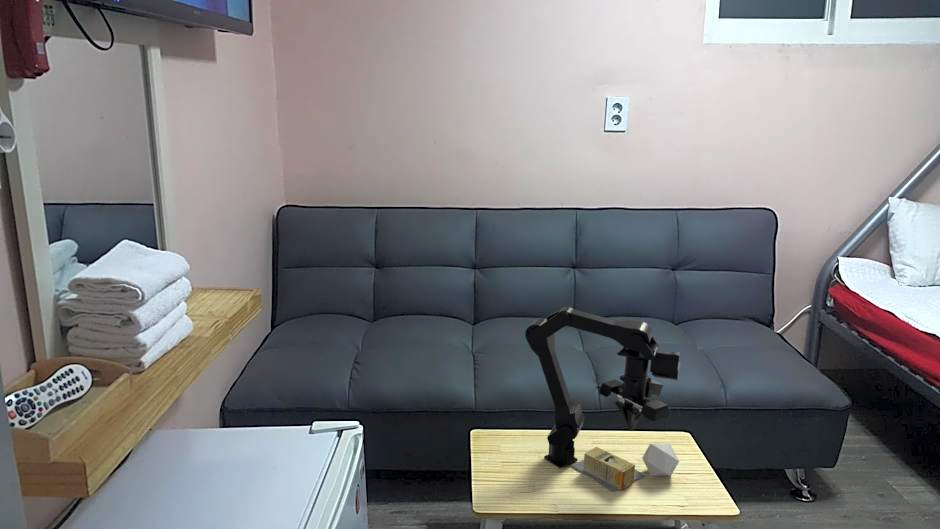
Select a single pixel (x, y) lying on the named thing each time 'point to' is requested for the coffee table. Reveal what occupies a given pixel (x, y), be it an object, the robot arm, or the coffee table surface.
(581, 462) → the mat
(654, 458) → the die
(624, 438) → the coffee table surface
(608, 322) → the robot arm
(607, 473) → the shoe polish box
